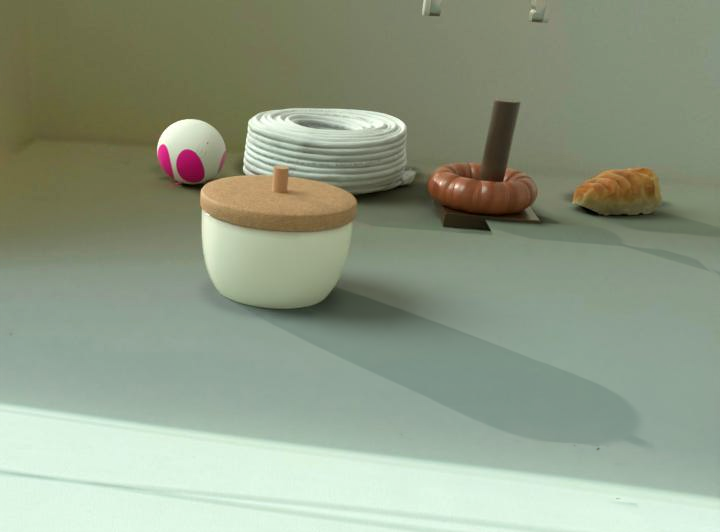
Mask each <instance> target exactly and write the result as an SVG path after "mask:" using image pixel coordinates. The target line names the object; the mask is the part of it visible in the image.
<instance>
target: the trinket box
mask: <svg viewBox="0 0 720 532" xmlns="http://www.w3.org/2000/svg"><path fill="white" fill-rule="evenodd" d="M288 174H289V167H286V166H274V170H273V175H246V174H244V175H235V176H227V177H222V178H217V179H214V180H210V181H208V182H206V184H204V185H203V187H202V188H201V189H200V197H199V200H200V203H199V204H200V207H201V245H202V253H203V259H204V265H205V267H206V270H207V273H208V276H209V278H210V280H211V282H212V284H213V286H214V287H215V289H216V290H217V291H218V293H220V295H222V296H223V297H224V298H227V299H229V300H230V301H233V302H236V303H239V304H243V305H246V306H250V307H256V308H264V309H275V310H276V309H277V310H281V309H282V310H284V309H285V310H287V309H289V310H290V309H300V308H301V309H302V308H307V307H312V306H314V305H317V304H319V303H321V302H322V301H324V300H325V299H326V298H327V297H328V296H329V295H330V294H331V292H332V291H333V290H334V288H335V287H336V285H337V283H338V281H339V280H340V278H341V276H342V274H343V272H344V271H343V270H344V268H345V266H346V263H347V258H348V254H349V250H350V246H351V239H352V234H353V226H354V220H355V219H356V215H357V210H358V201H357V198H356V197H355V195H352V194H351V193H349V192H347V191H345V190H343V189H341V188H339V187H336V186H333V185H330V184H326V183H323V182H318V181H314V180H308V179H303V178H295V177H288Z"/></svg>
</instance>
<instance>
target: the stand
mask: <svg viewBox="0 0 720 532" xmlns="http://www.w3.org/2000/svg"><path fill="white" fill-rule="evenodd" d="M521 103H522V101H521V100H519V99H516V98H510V97H495V98H494V101H493V106H492V110H491V115H490V121H489V126H488V130H487V135H486V140H485V145H484V150H483V154H482V155H483V156H482V160H481V163H480V164H481V169H480V174H479V179H478V180H481V181H493V182H504V177H505V173H506V168H508V165H509V164H508V163H509V158H510V154H511V149H512V145H513V141H514V137H515V131H516V127H517V122H518V119H519V113H520V108H521ZM433 205H434V208H435V209H436V212H437V215H438V217H439V219H440V222H441V224H442V225H441V226H442V227H447V228H448V227H449V228H460V229H461V228H462V229H473V230H487V231H491V228H490V226H489V224H488V222H487V220H488V221H502V222H512V223H513V222H514V223H526V224H540V222H541V220H540V219H539V217H538V216H537V214H536V213H535V212H534V210H533V209H532V207H531V206H530V207H528V208H526V209H525V210H523V211H521V212H519V213H514V214H503V215H491V214H478V213H471V212H466V211H461V210H456V209H452V208H449V207H447V206H445V205H442V204H440V203H438V202H436V201H435V200H434V199H433Z"/></svg>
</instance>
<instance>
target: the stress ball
mask: <svg viewBox="0 0 720 532" xmlns="http://www.w3.org/2000/svg"><path fill="white" fill-rule="evenodd" d="M158 136H159V139H158V142H157V148H156V155H157V160H158V162H159V165H160V167H161V168H162V170H163V172H164V173H166V175H167V176H169V177H170V178H171V179H173V180H175V181H177V182H176V183H173V184H170V185H167V186H166V188H169V187H172V186H177V185H182V184H185V185H201V184H204V183H208V182H210V181H212V179H214V178H215V177H217V175H218V174H219V173H220V172H221V171H222V169H223V167H224V165H225V162H226V156H227V149H226V144H225V140H224V139H223V137H222V135H221V134H220V132H219V131H218V130H217V129H216V128H215V127H214V126H213V125H211V124H209V123H208V122H206V121H203V120H201V119H194V118H187V119H180V120H178V121H176V122H174V123H172V124H170V125H169V126H167V128H166V129H165V130H164V131H163V132H162V133H161V134H158Z"/></svg>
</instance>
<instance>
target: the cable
mask: <svg viewBox="0 0 720 532" xmlns="http://www.w3.org/2000/svg"><path fill="white" fill-rule="evenodd" d="M407 132H408V128H407V124H406V123H405V122H404V121H403V120H401V119H399V118H398V117H396V116H393V115H391V114H387V113H384V112H378V111H374V110H373V111H371V110H364V109H363V110H362V109H351V108H349V109H348V108H347V109H346V108H320V107H319V108H316V107H315V108H314V107H306V108H305V107H294V108H293V107H291V108H283V109H273V110H272V109H271V110H267V111H261V112H259V113H257V114H255V115H254V116H252V117H251V118H249V120H248V121H247V133H246V139H245V145H244V149H245V150H244V154H243V155H244V156H243V160H242V161H243V166H242V171H243V173H244V175H273V170H274V166H286V167H289V174H288V177H295V178H303V179H308V180H314V181H318V182H323V183H326V184H330V185H333V186H336V187H339V188H341V189H343V190H345V191H347V192H349V193H351V194H352V195H353V196H357V195H366V194H372V193H376V192H377V193H378V192H385V191H389V190H392V189H394V188H397V187H399V186H400V187H401V186H404V185H407V186H408V185H411V184H412V182H414V180H415V178H416V176H417V174H418V170H417V169H414V168H413V166H412V165H410V164H407V163H408V160H407V138H408V134H407Z"/></svg>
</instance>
